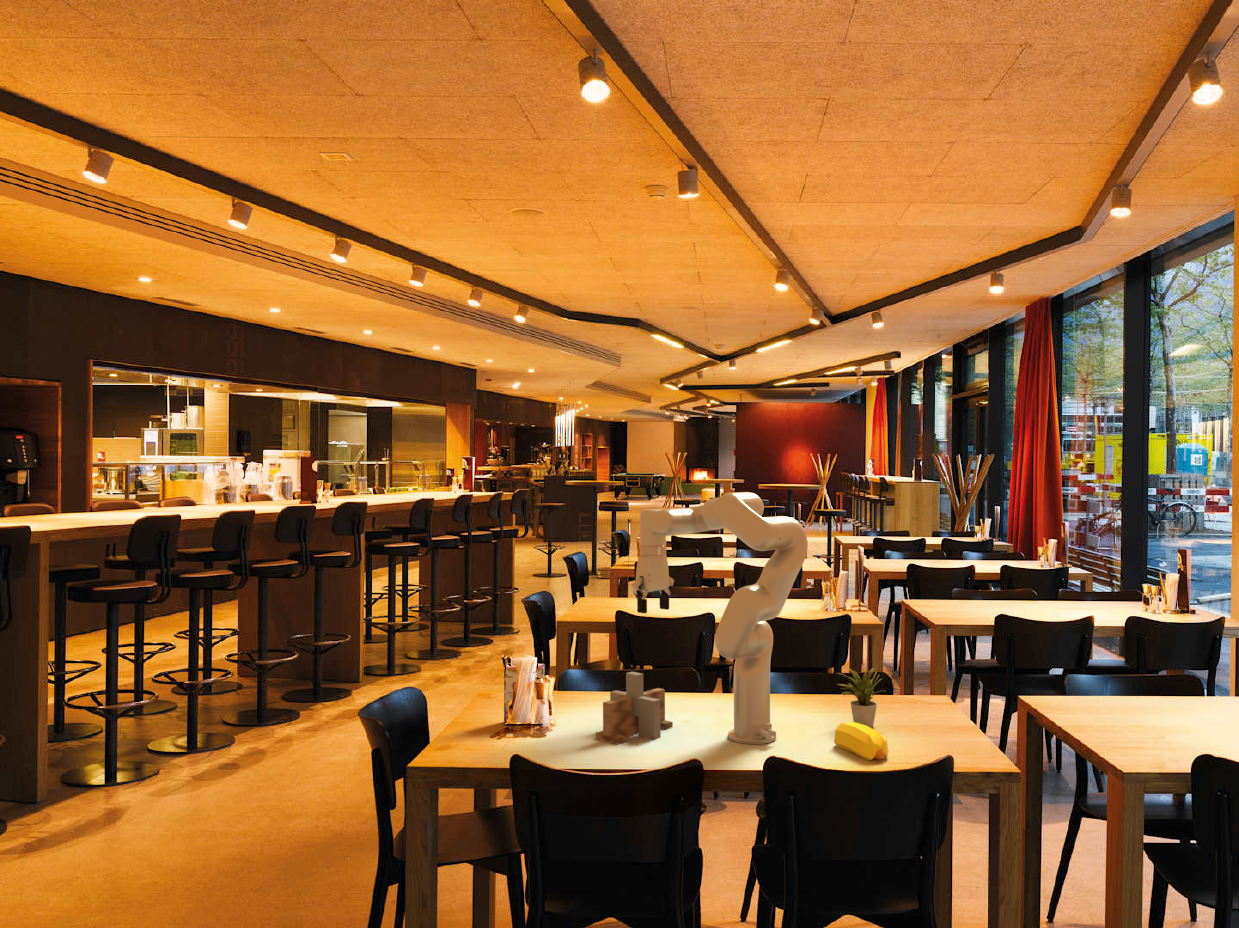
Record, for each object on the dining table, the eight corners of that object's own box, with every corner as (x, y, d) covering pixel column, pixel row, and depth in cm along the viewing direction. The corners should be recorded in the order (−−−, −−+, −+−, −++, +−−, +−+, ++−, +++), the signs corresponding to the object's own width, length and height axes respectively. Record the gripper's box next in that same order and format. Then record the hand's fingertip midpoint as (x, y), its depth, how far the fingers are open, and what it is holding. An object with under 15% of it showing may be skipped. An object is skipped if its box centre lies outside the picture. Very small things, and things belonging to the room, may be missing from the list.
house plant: (846, 715, 274) (846, 658, 274) (894, 721, 267) (894, 663, 267) (830, 726, 262) (830, 667, 262) (880, 733, 255) (880, 672, 255)
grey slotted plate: (660, 737, 253) (660, 676, 253) (654, 739, 251) (653, 678, 251) (616, 726, 263) (616, 668, 264) (610, 728, 262) (610, 670, 262)
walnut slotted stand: (650, 722, 268) (650, 686, 268) (672, 727, 262) (672, 690, 262) (595, 738, 252) (595, 700, 252) (617, 744, 246) (617, 705, 246)
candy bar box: (503, 726, 265) (503, 667, 265) (505, 721, 270) (505, 663, 270) (544, 725, 265) (543, 666, 265) (544, 720, 270) (544, 662, 270)
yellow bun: (852, 741, 248) (827, 745, 245) (852, 716, 248) (827, 719, 245) (896, 761, 231) (869, 765, 228) (896, 733, 231) (869, 737, 229)
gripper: (662, 549, 284) (663, 606, 284) (623, 552, 271) (623, 613, 271) (682, 550, 279) (682, 608, 278) (642, 554, 266) (643, 615, 266)
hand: (653, 610), depth 275 cm, fingers open, 9 cm apart
